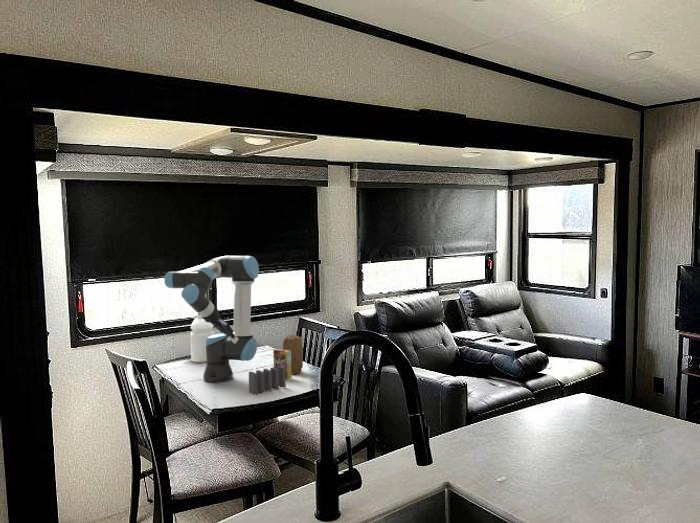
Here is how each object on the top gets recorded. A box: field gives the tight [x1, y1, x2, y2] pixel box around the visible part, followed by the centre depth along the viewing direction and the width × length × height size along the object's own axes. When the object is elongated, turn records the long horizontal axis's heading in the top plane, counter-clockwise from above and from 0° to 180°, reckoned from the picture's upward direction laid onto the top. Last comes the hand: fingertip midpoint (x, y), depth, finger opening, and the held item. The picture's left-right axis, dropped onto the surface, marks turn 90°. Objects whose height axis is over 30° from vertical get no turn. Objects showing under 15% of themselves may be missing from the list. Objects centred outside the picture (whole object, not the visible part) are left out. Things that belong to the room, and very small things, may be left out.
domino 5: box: [277, 366, 287, 389], centre depth 271 cm, size 5×2×10 cm, turn 39°
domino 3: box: [262, 368, 273, 392], centre depth 266 cm, size 5×2×10 cm, turn 39°
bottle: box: [189, 312, 215, 363], centre depth 324 cm, size 14×14×28 cm
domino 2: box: [255, 369, 266, 394], centre depth 263 cm, size 5×2×10 cm, turn 39°
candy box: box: [272, 348, 293, 381], centre depth 285 cm, size 9×4×15 cm, turn 61°
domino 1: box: [248, 371, 258, 396], centre depth 261 cm, size 5×2×10 cm, turn 39°
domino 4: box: [269, 366, 280, 390], centre depth 268 cm, size 5×2×10 cm, turn 39°
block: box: [282, 334, 304, 375], centre depth 295 cm, size 11×8×20 cm
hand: (235, 340), depth 260 cm, fingers closed
